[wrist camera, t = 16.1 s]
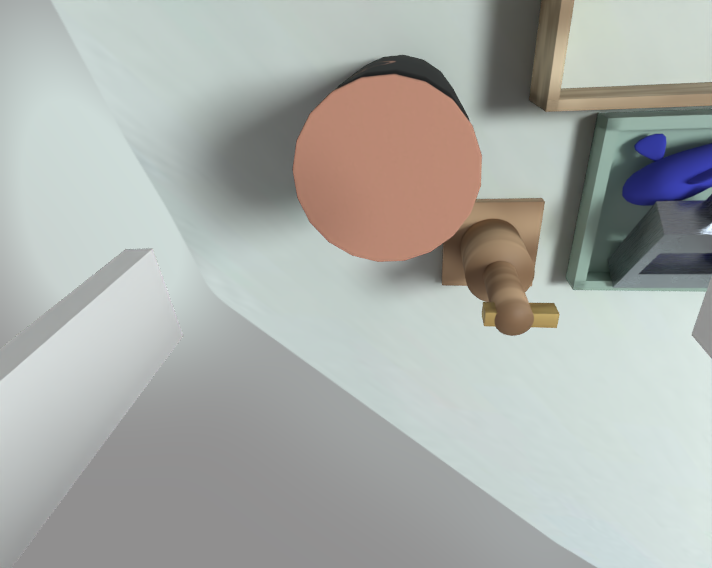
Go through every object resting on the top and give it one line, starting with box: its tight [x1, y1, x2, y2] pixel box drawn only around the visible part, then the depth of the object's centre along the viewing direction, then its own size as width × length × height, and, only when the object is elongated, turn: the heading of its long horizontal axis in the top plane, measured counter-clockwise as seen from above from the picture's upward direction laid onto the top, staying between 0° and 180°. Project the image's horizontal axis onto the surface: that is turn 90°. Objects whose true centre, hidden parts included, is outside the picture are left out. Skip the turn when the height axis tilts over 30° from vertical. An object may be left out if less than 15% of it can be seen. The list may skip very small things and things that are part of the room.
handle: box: [442, 198, 559, 336], centre depth 40 cm, size 9×9×14 cm
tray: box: [566, 109, 712, 291], centre depth 40 cm, size 16×15×2 cm
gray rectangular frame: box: [607, 194, 712, 288], centre depth 38 cm, size 9×12×3 cm
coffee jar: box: [293, 55, 482, 262], centre depth 33 cm, size 11×11×18 cm
